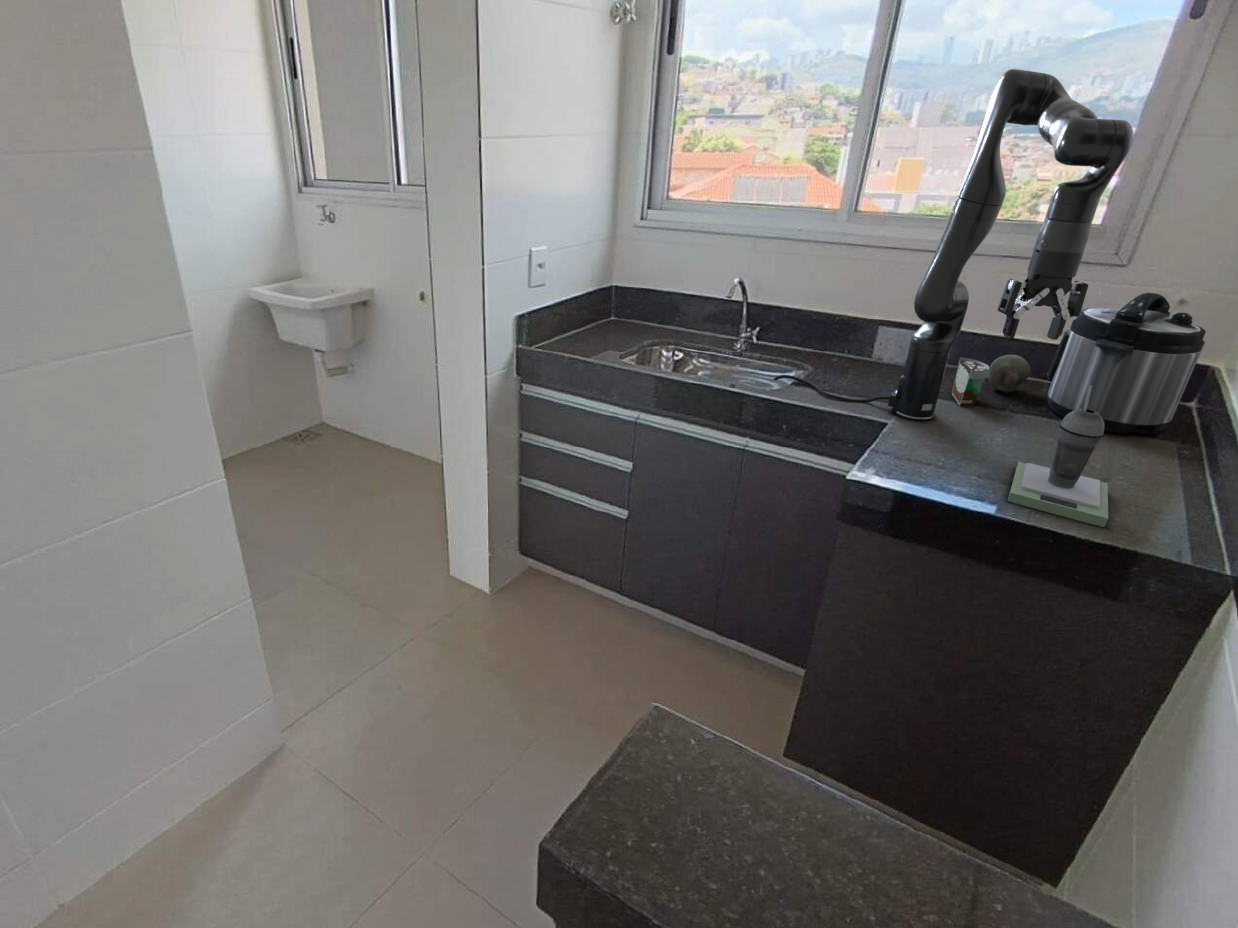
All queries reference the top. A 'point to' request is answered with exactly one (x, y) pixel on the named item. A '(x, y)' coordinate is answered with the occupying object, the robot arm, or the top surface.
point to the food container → (969, 381)
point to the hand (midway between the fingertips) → (1030, 338)
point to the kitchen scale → (1060, 495)
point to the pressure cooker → (1126, 364)
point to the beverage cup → (1075, 445)
